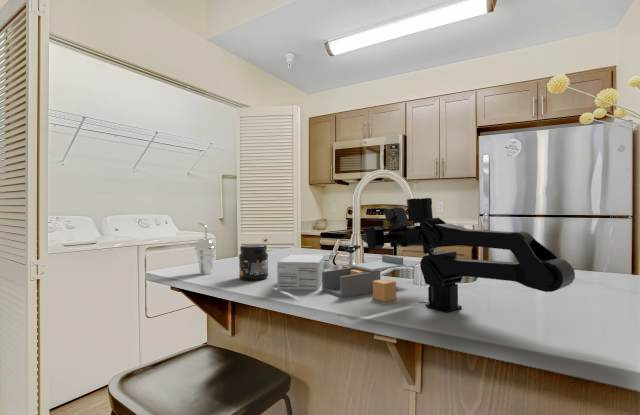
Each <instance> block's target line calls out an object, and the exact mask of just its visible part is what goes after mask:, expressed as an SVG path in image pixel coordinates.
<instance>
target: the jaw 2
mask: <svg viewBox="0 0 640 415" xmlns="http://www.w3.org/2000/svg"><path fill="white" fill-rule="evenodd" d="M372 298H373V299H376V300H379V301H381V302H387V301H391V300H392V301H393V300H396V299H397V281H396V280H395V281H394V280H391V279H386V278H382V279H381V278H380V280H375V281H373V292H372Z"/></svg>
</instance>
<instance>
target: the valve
mask: <svg viewBox="0 0 640 415" xmlns="http://www.w3.org/2000/svg"><path fill="white" fill-rule="evenodd" d="M341 249H342V250H345V252H347V253H348V254H349V255H348V262H346V266H347V268H350V267H351V264H356V263H355V262H354V255H353V254H354V252H355V253H356V251H357V250H359V249H361V245H358V244H354V245H353V244H343V245H341Z"/></svg>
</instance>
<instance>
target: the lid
mask: <svg viewBox="0 0 640 415" xmlns="http://www.w3.org/2000/svg"><path fill="white" fill-rule="evenodd" d="M406 265H407V264H406V263H404V257H401V256H397V255H396V256H395V255H389V254H382V255H381V260H375V261H369V262H368V261H365V262H360V263H355V264H351V267H355V268H359V269H364V270H368V271H371V272H372V271H383V270H389V269H396V268H401V267H406Z"/></svg>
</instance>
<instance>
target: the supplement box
mask: <svg viewBox="0 0 640 415" xmlns="http://www.w3.org/2000/svg"><path fill="white" fill-rule="evenodd" d="M322 271H325V254H288V255H287V256H285V257H284V258H283V259H280V261H277V264H276V272H277V274H276V276H277V278H276V286H277V287H276V290H277V292H286V290H307V291H308V290H310V291H312V290H313V291H316V290H317V291H318V290H319V289H320V287H322Z"/></svg>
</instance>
